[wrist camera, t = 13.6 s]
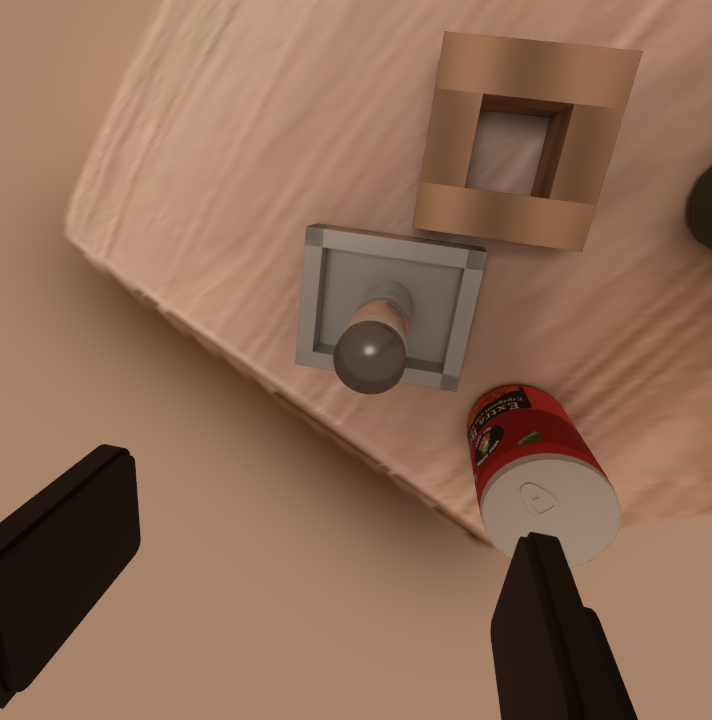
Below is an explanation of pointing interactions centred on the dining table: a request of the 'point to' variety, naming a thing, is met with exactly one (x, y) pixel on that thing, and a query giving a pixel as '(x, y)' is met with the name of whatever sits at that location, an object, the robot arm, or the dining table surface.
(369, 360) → the pin
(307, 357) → the tray
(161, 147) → the dining table surface
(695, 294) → the dining table surface
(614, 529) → the canned food
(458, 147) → the block
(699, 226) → the character mug
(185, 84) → the dining table surface
